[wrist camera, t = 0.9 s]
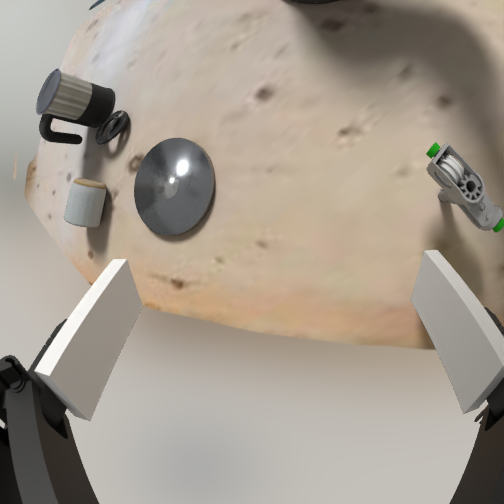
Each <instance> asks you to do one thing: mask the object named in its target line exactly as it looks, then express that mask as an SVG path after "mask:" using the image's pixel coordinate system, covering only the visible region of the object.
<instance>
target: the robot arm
mask: <svg viewBox="0 0 504 504" xmlns="http://www.w3.org/2000/svg"><path fill="white" fill-rule="evenodd" d="M292 1H296V2H301V3H326V2H332V1H336V0H292ZM410 300H411V302H412V304H413V306H414V307H415V309H416V311H417V313H418V315H419V317H420V318H421V320H422V322H423V324H424V326H425V328H426V330H427V332H428V334H429V336H430V338H431V340H432V342H433V344H434V346H435V348H436V350H437V352H438V355H439V357H440V359H441V361H442V363H443V365H444V368H445V370H446V372H447V374H448V377H449V379H450V381H451V384H452V386H453V389H454V391H455V394H456V396H457V399H458V401H459V404H460V406H461V409H462V411H463V414H465V413H467V412H470V411H472V410H475V409H477V408H479V407H480V405H481V404H482V403H483V402H484V401H485V400H486V399H487V402H488V405H487V407H486V408H485V409H484V410H483V411H482V412H481V413H480V414H479V415H478V416H477V417H476V419H475V422H477V421H478V420H479V419H480V418H481V417H482V416H483V418H482V420H481V421H480V424H481V425H480V428H479V432H478V435H477V438H476V441H475V444H474V448H473V450H472V453H471V456H470V458H469V461H468V464H467V466H466V469H465V471H464V474H463V476H462V478H461V481H460V483H459V485H458V487H457V489H456V492H455V494H454V496H453V498H452V500H451V502H450V504H504V327H503V326H501V323H500V321H499V320H498V318H497V317H496V316H495V314H493V313H492V312H491V311H490V310H489V309H487V308H486V307H485V308H484V307H483V306H482V305H481V303H480V302H479V300H478V299H477V298H476V296H475V295H474V294H473V293H472V291H471V290H470V289H469V287H468V286H467V285H466V283H465V282H464V281H463V280H462V278H461V277H460V276H459V275H458V274H457V272H456V271H455V270H454V269H453V268H452V266H451V265H450V264H449V263H448V262H447V260H446V259H445V258H444V257H443V256H442V255H441V254H440V252H439V251H438V250H424V253H423V257H422V261H421V265H420V268H419V272H418V276H417V279H416V283H415V286H414V289H413V293H412V296H411V299H410ZM142 308H143V305H142V302H141V299H140V297H139V294H138V291H137V288H136V285H135V282H134V279H133V276H132V273H131V270H130V267H129V264H128V261H127V259H113V260H112V261H111V263H110V264H109V265H108V266H107V268H106V269H105V270H104V271H103V273H102V274H101V275H100V276H99V278H98V279H97V280H96V281H95V283H94V284H93V285H92V287H91V288H90V289H89V291H88V292H87V293H86V295H85V296H84V297H83V299H82V300H81V302H80V303H79V304H78V306H77V307H76V308H75V310H74V311H73V312H72V314H71V315H70V317H69V318H68V319H65V320H64V321H63V322H62V323H61V324H59V325H58V326H57V327H56V329H55V330H54V331H53V333H52V334H51V338H49V339H48V340H47V342H46V345H44V346H43V348H42V350H41V351H40V353H39V354H38V356H37V357H36V359H35V360H34V362H33V364H32V365H31V367H30V369H29V370H28V372H27V371H26V370H25V368H24V367H23V366H22V365H21V364H20V362H19V361H18V359H17V358H16V357H15V356H12V355H9V356H5V357H3V358H2V359H0V419H1V420H2V421H3V422H4V423H5V427H4V429H3V428H2V427H1V426H0V504H99V502H98V500H97V498H96V496H95V494H94V491H93V489H92V487H91V484H90V482H89V480H88V477H87V475H86V472H85V469H84V467H83V464H82V461H81V459H80V456H79V453H78V450H77V447H76V444H75V440H74V437H73V434H72V430H71V427H70V423H69V420H68V418H67V416H66V414H65V411H66V409H68V410H69V411H70V412H71V413H73V415H74V416H76V417H79V418H82V419H85V420H88V421H90V420H91V418H92V416H93V413H94V411H95V408H96V406H97V404H98V401H99V399H100V397H101V394H102V392H103V390H104V387H105V385H106V383H107V380H108V378H109V376H110V374H111V372H112V369H113V367H114V365H115V363H116V361H117V359H118V356H119V354H120V352H121V350H122V348H123V346H124V344H125V342H126V340H127V338H128V336H129V334H130V332H131V330H132V328H133V325H134V323H135V322H136V320H137V318H138V316H139V314H140V312H141V310H142Z"/></svg>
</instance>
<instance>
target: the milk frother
mask: <svg viewBox="0 0 504 504" xmlns="http://www.w3.org/2000/svg"><path fill="white" fill-rule="evenodd" d="M114 101H115V94H114V91H113V90H112V89H110V88H104V87H101V86H98V85H95V84H93V83H90V82H87V81H85V80H82V79H79V78H76V77H74V76H71V75H68V74H65V73H62V72H61V71H60V70H59V69H56V70H54V71H53V72H52V73H51V74H50V75H49V76H48V78H47V79H46V81H45V83H44V84H43V86H42V89H41V91H40V93H39V96H38V100H37V105H36V112H37V114H38V115H41V114H42V117H41V121H40V125H39V131H40V134H41V136H42V137H43V138H44V139H45V140H47V141H49V142H56V143H66V144H80V143H81V142H82V137H81V136H80V135H77V134H69V133H61V132H54V131H52V130H51V128H50V126H51V122H52V119H53V118H55V119H59V120H63V121H67V122H71V123H75V124H80V125H84V126H88V127H90V126H91V127H92V128H97V127H99V128H98V131H97V133H96V138H95V139H96V142H97V143H98V144H99V145H102V144H105V143H107V142H109V141H111V140H112V139H113V138H115V137H116V136H117V135H118V134H119V133H120V132H121V131H122V130H123V128H124V127H125V125H126V123H127V121H128V114H127V113H126V112H125V111H117V112H115V113H114V114H112V115H111V116H110V117H109V115H110V113H111V111H112V109H113V106H114ZM108 117H109V118H108ZM107 118H108V119H107ZM113 119H114V120H113ZM112 120H113V122H112V124H111V126H110V130H109V132H108V133H107V134H108V135H107V136H105V137H103V136H102V135H103V132H104V130H105V128H106V127H107V125H108V124H109V123H110V122H111V121H112ZM102 124H103V125H102Z"/></svg>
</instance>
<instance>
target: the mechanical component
mask: <svg viewBox="0 0 504 504" xmlns="http://www.w3.org/2000/svg"><path fill="white" fill-rule="evenodd" d="M439 148H440V146H439V145H438V144H437V143H436V142H435V143H434V144H433V146H432V147H431V148H430V149H429V151H428V152H427V153H426V154H427V155H428V156H429V157H430V158H432V157H434V158H433V159H432V161H431V162H430V163H429V164H428V167H427V171H428V173H429V175H430V176H431V177H432V178H433V179H434V180H435V181H436V182H437V183H438V184H439V185H440V186H441V187H442V188H443V189H441V191H440V193H439V194H438V198H439V199H440V201H442V202H446V201H450V202H451V203H453V204H457V205H458V206H459V207H460V208H461V210H462V211H463V212H464V213H465V214H466V215H467V217H468V218H469V219H470V220H471V222H472V223H473V224H474V225H475V226H476V227H478V228H479V229H481V230H491V229H493V230H494V231H495V232H498V231H500V230H501V229H502V228H503V226H504V220H503V218H502V215H503V211H502V210H501V208H500V207H499V206H495V205H494V204H493V202H492V201H491V200H490V199H489V197H488V196H487V195H486V194H485V184H484V181H483V179H482V177H481V176H480V175H479V174H478V173H477V172H476V171H474V170H473V169H472V167H471V166H470V165H469V164H468V163H467V162H466V161H465V160H464V159H463V158H462V157H461V156H460V155H459V154H458V152H457V151H456V150H455V149H454V148H453V147H452V146H451V145H450V144H449V143H448V142H446V143H445V144H444V145H443V146H442V148H441V149H440V150H439ZM448 154H450V155H453V156H454V157H456V158H457V159H458V160H459V161H460V162H461V163H462V165H463V167H464V170H463V168H462V166H461V165H460V163H459V162H458V161H457V160H456V159H454V158H453V157H451V156H449V155H448Z"/></svg>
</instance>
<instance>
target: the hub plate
mask: <svg viewBox="0 0 504 504" xmlns="http://www.w3.org/2000/svg"><path fill="white" fill-rule="evenodd" d="M214 191H215V173H214V168H213V165H212V162H211V160H210V158H209V156H208V154H207V153H206V152H205V150H204V149H203V148H202V147H200V146H199V145H198V144H196V143H194V142H192V141H189V140H187V139H183V138H171V139H167V140H164V141H162V142H160V143H159V144H157V145H156V146H155V147H153V148H152V149H151V150H150V151H149V152H148V153H147V155H146V156H145V157H144V159H143V161H142V162H141V164H140V167H139V169H138V172H137V175H136V179H135V186H134V197H135V204H136V208H137V210H138V213H139V215H140V217H141V219H142V220H143V222H144V223H145V224H146V225H147V226H148V227H149V228H150V229H151V230H153V231H154V232H156V233H159V234H162V235H178V234H182V233H185V232H187V231H189V230H191V229H193V228H194V227H195V226H196V225H198V224H199V223H200V221H201V220H202V219H203V218H204V216H205V215H206V213H207V212H208V210H209V208H210V205H211V203H212V200H213V196H214Z"/></svg>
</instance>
